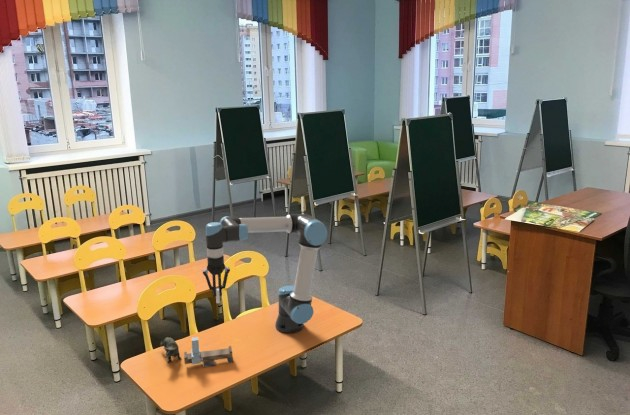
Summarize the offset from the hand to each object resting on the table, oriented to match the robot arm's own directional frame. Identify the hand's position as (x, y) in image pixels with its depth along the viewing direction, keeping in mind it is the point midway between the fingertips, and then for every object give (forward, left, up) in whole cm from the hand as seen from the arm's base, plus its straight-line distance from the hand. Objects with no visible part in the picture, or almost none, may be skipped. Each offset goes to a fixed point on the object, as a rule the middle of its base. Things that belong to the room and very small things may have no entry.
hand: (218, 302), depth 238 cm
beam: (+6, +7, -28) cm, 29 cm away
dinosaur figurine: (+23, -3, -28) cm, 37 cm away
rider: (+12, +7, -25) cm, 28 cm away
